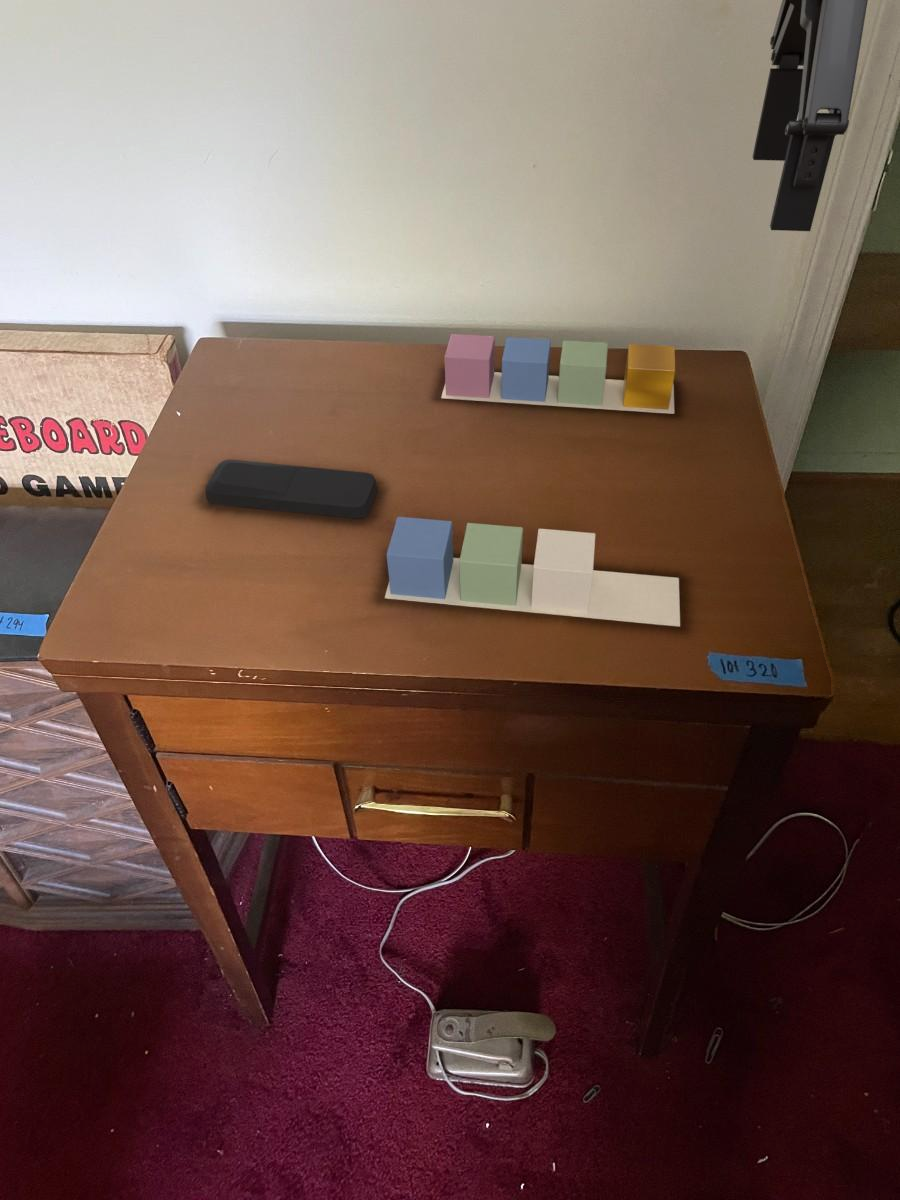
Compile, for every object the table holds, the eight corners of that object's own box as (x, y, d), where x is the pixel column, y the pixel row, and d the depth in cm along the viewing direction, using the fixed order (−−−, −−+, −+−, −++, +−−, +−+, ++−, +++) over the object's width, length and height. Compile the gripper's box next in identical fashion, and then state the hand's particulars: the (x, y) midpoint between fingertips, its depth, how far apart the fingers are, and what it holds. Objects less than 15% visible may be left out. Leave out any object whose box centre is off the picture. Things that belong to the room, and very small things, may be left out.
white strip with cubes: (678, 578, 72) (687, 537, 69) (679, 626, 68) (689, 585, 65) (397, 553, 75) (393, 512, 71) (384, 598, 71) (380, 557, 68)
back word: (673, 384, 91) (680, 344, 88) (674, 413, 87) (681, 373, 84) (449, 370, 94) (448, 331, 90) (441, 398, 90) (439, 358, 87)
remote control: (380, 488, 81) (222, 468, 83) (379, 473, 80) (218, 453, 82) (367, 524, 78) (202, 503, 80) (366, 509, 77) (199, 487, 78)
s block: (667, 384, 91) (674, 346, 87) (668, 409, 88) (675, 370, 84) (623, 382, 91) (628, 343, 88) (622, 406, 88) (628, 367, 85)
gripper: (774, -190, 63) (718, 133, 78) (828, -142, 46) (742, 262, 61) (886, -193, 62) (807, 135, 77) (984, -144, 45) (858, 266, 60)
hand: (779, 191), depth 69 cm, fingers open, 13 cm apart
